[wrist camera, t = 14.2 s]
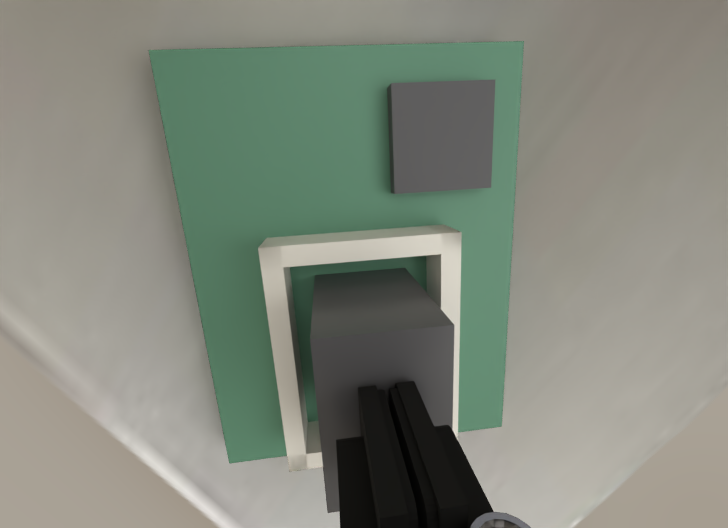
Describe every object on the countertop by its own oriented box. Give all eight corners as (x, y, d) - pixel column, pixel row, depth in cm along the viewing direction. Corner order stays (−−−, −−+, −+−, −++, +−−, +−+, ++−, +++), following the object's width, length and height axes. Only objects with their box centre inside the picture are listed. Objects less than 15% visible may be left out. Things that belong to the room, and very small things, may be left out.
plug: (314, 275, 15) (310, 339, 9) (405, 267, 15) (454, 324, 10) (327, 408, 17) (329, 532, 11) (407, 399, 17) (450, 513, 11)
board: (167, 62, 14) (116, 27, 10) (504, 53, 15) (556, 19, 12) (236, 440, 18) (217, 500, 15) (488, 407, 20) (522, 456, 16)
